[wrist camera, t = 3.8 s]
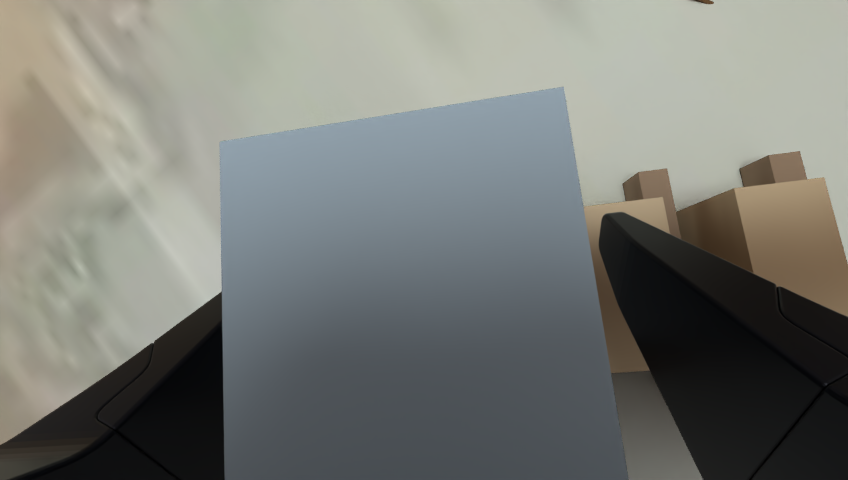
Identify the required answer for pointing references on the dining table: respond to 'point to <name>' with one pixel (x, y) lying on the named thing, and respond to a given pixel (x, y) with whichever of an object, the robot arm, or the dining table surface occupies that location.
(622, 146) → the dining table surface
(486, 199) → the batten
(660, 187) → the rack
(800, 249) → the oak offcut
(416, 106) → the dining table surface
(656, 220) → the oak offcut
